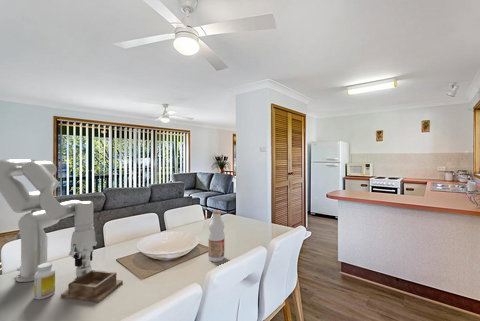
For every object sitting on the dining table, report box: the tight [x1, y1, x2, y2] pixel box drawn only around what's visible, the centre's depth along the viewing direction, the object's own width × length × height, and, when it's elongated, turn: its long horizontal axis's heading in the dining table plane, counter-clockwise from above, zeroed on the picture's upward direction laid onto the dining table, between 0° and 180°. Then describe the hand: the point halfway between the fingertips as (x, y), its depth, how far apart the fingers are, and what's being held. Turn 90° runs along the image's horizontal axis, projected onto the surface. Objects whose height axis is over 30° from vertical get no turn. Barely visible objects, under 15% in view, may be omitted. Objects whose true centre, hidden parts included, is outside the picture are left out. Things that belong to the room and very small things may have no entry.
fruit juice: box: [207, 209, 225, 263], centre depth 129 cm, size 9×9×28 cm
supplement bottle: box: [33, 262, 56, 300], centre depth 93 cm, size 7×7×13 cm
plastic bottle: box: [75, 243, 93, 279], centre depth 109 cm, size 6×7×20 cm
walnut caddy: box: [60, 269, 124, 303], centre depth 97 cm, size 18×14×5 cm
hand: (83, 262), depth 109 cm, fingers closed on plastic bottle, 5 cm apart
